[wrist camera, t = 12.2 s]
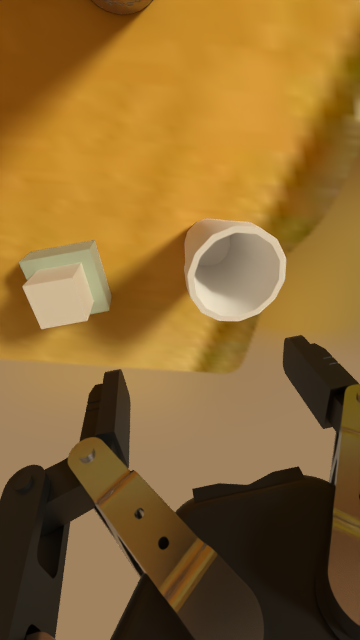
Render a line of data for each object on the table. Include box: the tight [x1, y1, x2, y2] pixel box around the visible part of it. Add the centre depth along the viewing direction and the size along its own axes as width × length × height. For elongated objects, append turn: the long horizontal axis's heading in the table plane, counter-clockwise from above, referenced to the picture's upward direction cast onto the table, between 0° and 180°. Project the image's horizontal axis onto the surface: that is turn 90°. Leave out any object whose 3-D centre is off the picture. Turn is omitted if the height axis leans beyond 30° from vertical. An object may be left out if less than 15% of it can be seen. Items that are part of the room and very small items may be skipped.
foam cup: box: [184, 218, 286, 321], centre depth 32 cm, size 10×9×13 cm
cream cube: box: [22, 263, 94, 329], centre depth 32 cm, size 5×5×5 cm
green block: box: [19, 240, 112, 314], centre depth 36 cm, size 8×8×4 cm
